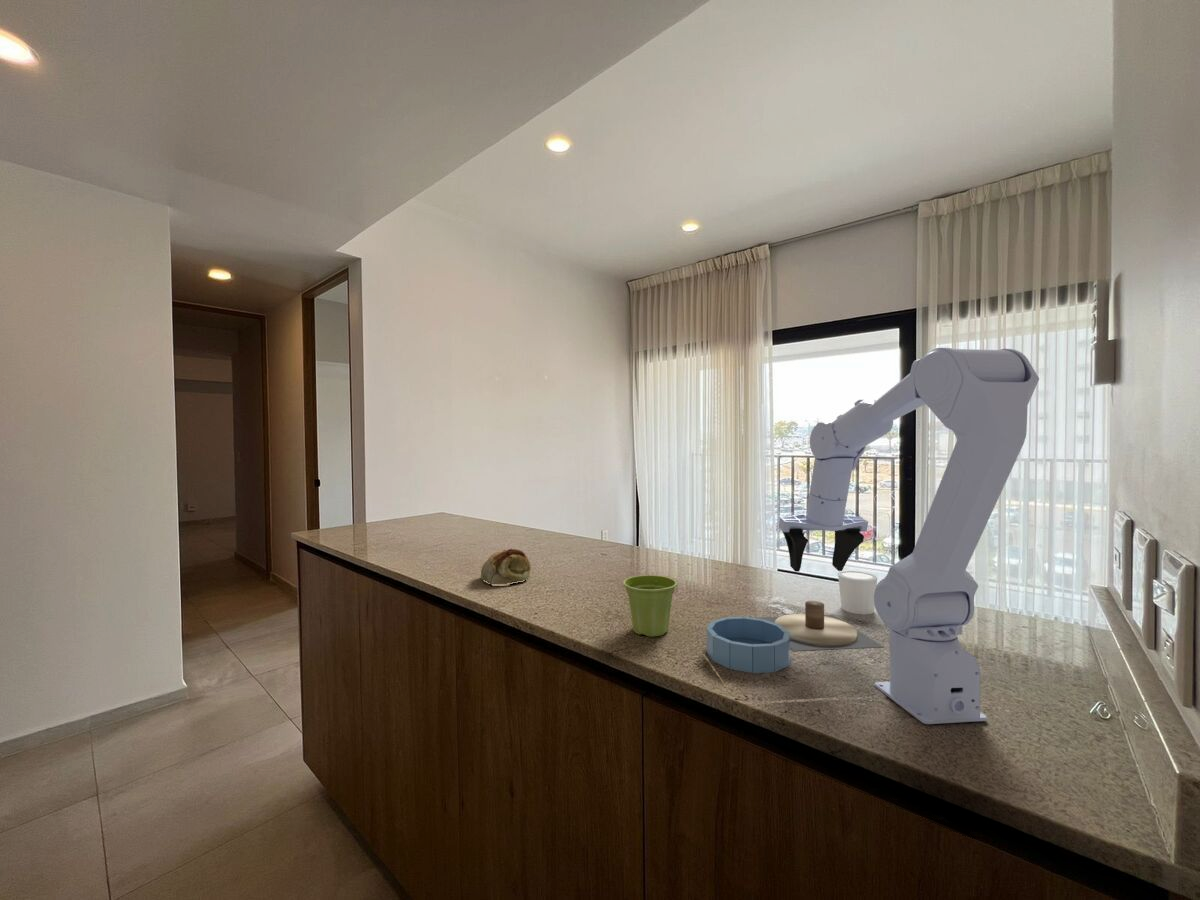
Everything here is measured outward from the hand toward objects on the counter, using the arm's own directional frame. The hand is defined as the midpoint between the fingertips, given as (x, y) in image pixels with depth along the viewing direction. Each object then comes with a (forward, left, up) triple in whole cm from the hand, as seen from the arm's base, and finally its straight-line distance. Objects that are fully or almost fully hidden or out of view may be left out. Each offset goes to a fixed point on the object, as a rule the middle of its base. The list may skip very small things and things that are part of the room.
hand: (816, 568), depth 86 cm
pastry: (+41, +57, -12) cm, 71 cm away
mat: (0, 0, -11) cm, 11 cm away
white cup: (+10, -14, -11) cm, 20 cm away
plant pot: (+4, +28, -11) cm, 31 cm away
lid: (0, 0, -11) cm, 11 cm away
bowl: (-8, +15, -11) cm, 21 cm away
